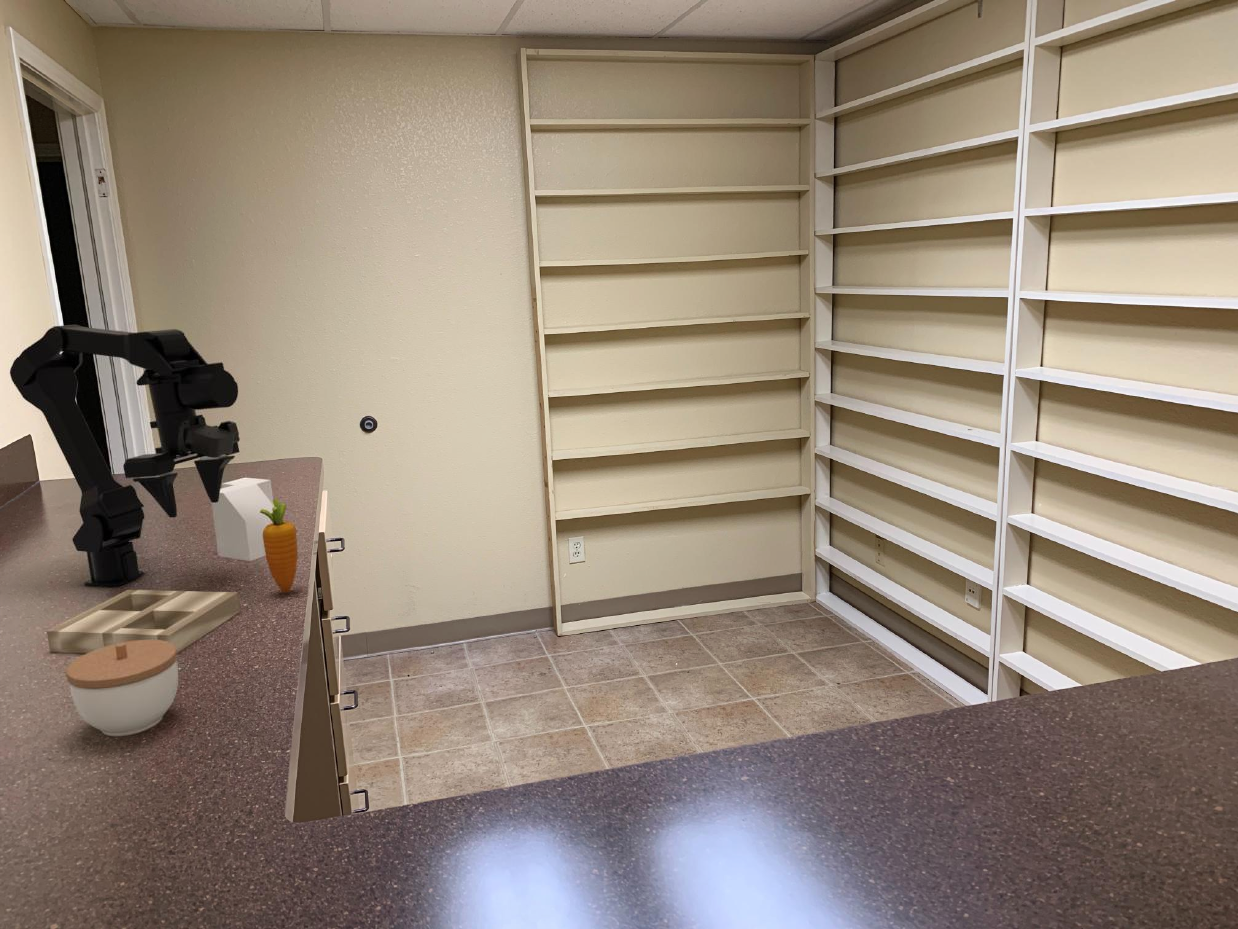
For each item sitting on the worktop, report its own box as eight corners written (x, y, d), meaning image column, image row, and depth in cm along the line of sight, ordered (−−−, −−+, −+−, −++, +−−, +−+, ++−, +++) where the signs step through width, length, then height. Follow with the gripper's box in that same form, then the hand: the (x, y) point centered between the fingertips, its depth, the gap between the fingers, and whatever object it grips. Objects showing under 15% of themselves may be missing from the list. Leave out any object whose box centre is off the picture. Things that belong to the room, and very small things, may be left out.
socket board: (50, 652, 120) (46, 631, 119) (130, 608, 136) (128, 589, 135) (172, 656, 117) (168, 635, 117) (240, 611, 133) (237, 592, 132)
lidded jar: (83, 713, 102) (70, 636, 101) (186, 693, 107) (175, 619, 105) (70, 757, 93) (56, 673, 91) (184, 733, 97) (172, 652, 95)
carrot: (292, 599, 137) (281, 505, 134) (263, 598, 138) (251, 504, 135) (309, 588, 142) (299, 497, 139) (281, 587, 143) (270, 496, 140)
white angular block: (252, 538, 171) (245, 477, 169) (296, 544, 166) (289, 481, 164) (205, 554, 162) (197, 490, 160) (250, 561, 157) (242, 495, 155)
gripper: (173, 417, 127) (194, 523, 130) (258, 399, 144) (275, 493, 147) (110, 423, 130) (133, 526, 133) (201, 404, 147) (219, 496, 150)
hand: (194, 509), depth 141 cm, fingers open, 9 cm apart
